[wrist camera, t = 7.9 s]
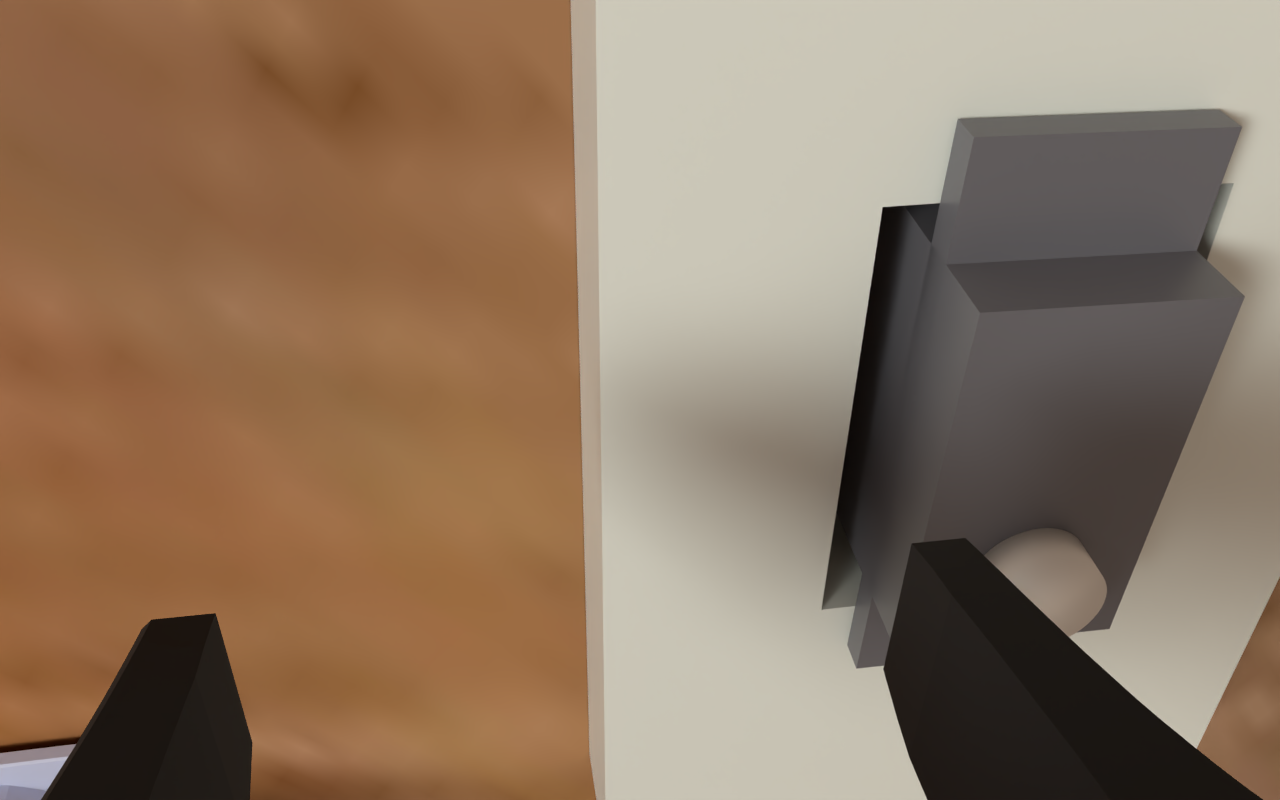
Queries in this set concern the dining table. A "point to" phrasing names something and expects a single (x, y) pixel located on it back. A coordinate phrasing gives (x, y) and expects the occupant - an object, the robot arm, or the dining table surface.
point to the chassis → (857, 359)
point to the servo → (1036, 357)
